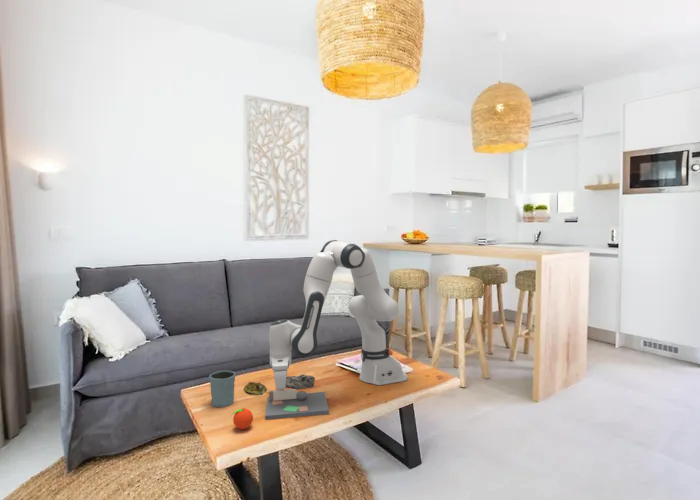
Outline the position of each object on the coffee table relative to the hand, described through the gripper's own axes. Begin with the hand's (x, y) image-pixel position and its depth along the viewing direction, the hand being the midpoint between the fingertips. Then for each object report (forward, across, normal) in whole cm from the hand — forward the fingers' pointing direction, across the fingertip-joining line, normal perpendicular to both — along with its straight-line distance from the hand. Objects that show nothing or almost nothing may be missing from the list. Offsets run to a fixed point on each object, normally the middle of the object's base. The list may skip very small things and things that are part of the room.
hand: (281, 391), depth 169 cm
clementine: (+4, +21, -14) cm, 25 cm away
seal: (+4, -15, -12) cm, 20 cm away
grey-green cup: (+4, -3, -24) cm, 24 cm away
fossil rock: (+5, -18, +7) cm, 19 cm away
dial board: (+4, +7, +6) cm, 10 cm away
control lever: (+2, +3, +3) cm, 4 cm away
